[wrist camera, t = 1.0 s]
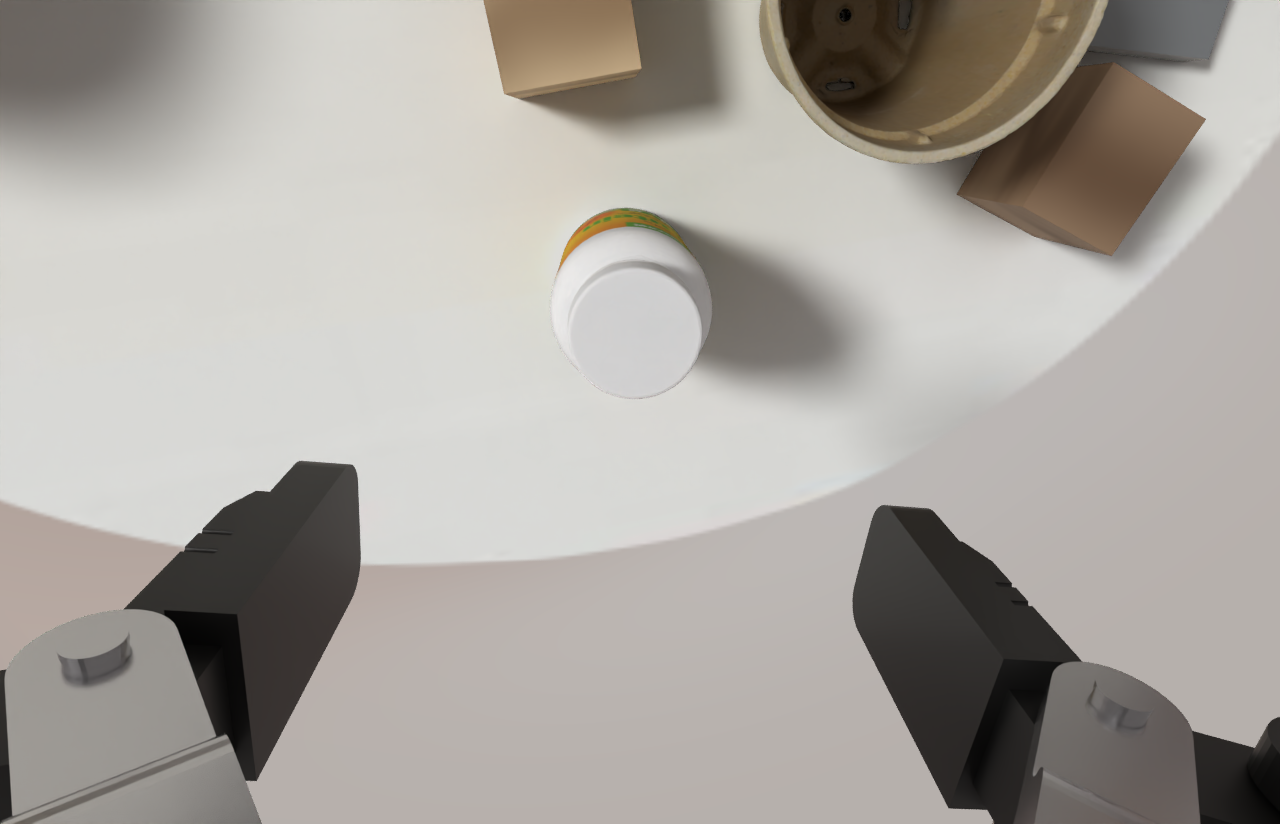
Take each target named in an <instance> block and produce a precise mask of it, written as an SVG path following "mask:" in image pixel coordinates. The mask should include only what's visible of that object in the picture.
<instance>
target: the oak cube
mask: <svg viewBox="0 0 1280 824" xmlns="http://www.w3.org/2000/svg"><path fill="white" fill-rule="evenodd" d="M484 5H485V9H486V14H487V18H488V23H489V27H490V32H491V36H492V41H493V45H494V50H495V54H496V59H497V63H498V68H499V72H500V77H501V81H502V86H503V90H504V94H506V95H509V96H512V97H515V98H518V99H521V98H526V97H531V96H537V95H542V94H548V93H553V92H558V91H564V90H569V89H575V88H580V87H585V86H591V85H596V84H602V83H607V82H612V81H618V80H623V79H629V78H634V77H636V76H637V74H638V73H639V71H640V70H641V69H642V68H641V61H640V55H639V48H638V42H637V35H636V29H635V22H634V16H633V9H632V3H631V0H484Z"/></svg>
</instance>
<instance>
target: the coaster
mask: <svg viewBox="0 0 1280 824" xmlns="http://www.w3.org/2000/svg"><path fill="white" fill-rule="evenodd" d="M1228 2H1229V0H1108V5H1107V7H1106V9H1105V11H1104V16H1103V18H1102V20H1101V23H1100V26H1099V28H1098V30H1097V32H1096V34H1095V36H1094V38H1093V40H1092V42H1091V43H1090V45H1089V47H1088V49H1087V51H1093V52H1102V53H1111V54H1119V55H1128V56H1137V57H1145V58H1154V59H1163V60H1171V61H1180V62H1189V61H1198V60H1207V59H1209V57H1210V54H1211V51H1212V48H1213V45H1214V42H1215V39H1216V36H1217V34H1218V31H1219V28H1220V25H1221V22H1222V19H1223V16H1224V13H1225V10H1226V7H1227V4H1228Z"/></svg>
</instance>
